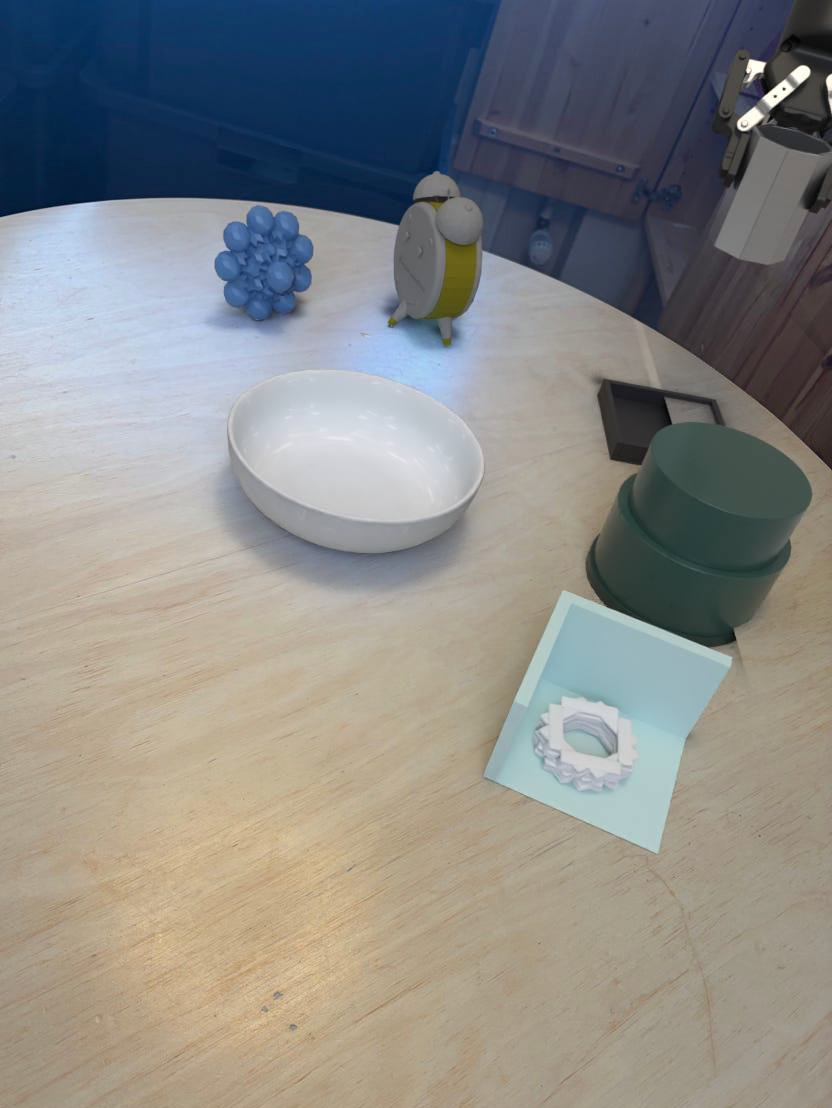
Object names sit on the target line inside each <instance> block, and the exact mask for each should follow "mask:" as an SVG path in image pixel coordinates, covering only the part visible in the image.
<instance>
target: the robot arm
mask: <svg viewBox="0 0 832 1108" xmlns="http://www.w3.org/2000/svg"><path fill="white" fill-rule="evenodd" d="M781 33H782V34H781V36H780V39H779V41H778V44H777V47H776V49H775V51H774V52H775V53H774V55H773V56H772V57H770V58H769V60H767V61H761V60H756V59H752V58H751V54H750V52H749V51H748V50H747V49H740V50H738V51H736V53H735V54H734V58H733V59H732V62H731V64H730V67H729V69H728V72H727V75H726V78H725V80H724V84H723V89H722V91H721V94H720V97H719V100H718V104H717V108H716V110H715V114H714V117H713V120H712V123H711V128H710V129H711V132H712V133H713V134H714V135H723V136H724V137H725V138H726V141H727V146H726V148H725V150H724V153H723V156H722V158H721V162H720V164H719V167H718V170H717V178H718V179H722V183H721V187H724V188H727V189H728V188H730V186H731V184H732V182H733V180H734V178H735V176H736V173H737V171H738V168H739V165H740V163H741V160H742V157H743V154H744V152H745V149H746V146H747V143H748V141H749V138H750V134H751V132H752V130H753V127H754V126H760V125H767V124H772V122H774V121H775V122H776V124H775V125H778V126H783V127H788V128H793V129H798V130H801V131H804V132H806V133H808V134H811V135H813V136H814V134H816V137H818V138H820V139H822V140H825V141H827V142H828V143H829V144H830V145H831V147H832V0H793V2H792V6H791V9H790V11H789V14H788V16H787V19H786V22H785V25H784V27H783V31H782V32H781ZM755 80H759V84H760V88H761V91H762V93H763V95H764V96H763V97H762V98H761V99H759V101H757V103H756V104H755V105H754V106H753V107H752V108H751V109H750V110H748V111H747V112H746V113H744V115H742V116H740V115H739V114H738V113H736V112H735V108H736V105H737V102H738V98H739V95H740V92H741V91H743V90H746V89H748V88H749V87H750V86H751V84H752V82H753V81H755ZM831 203H832V163H831V165H830V167H829V169H828V171H827V173H826V175H825V177H824V179H823V181H822V183H821V185H820V187H819V189H818V192H817V194H816V196H815V198H814V200H813V202H812V204H811V206H810V208H809V210H808V212H809V213H811V214H818V213H819V212H820V210H821V209H825V210H826V209H827V208H828V206H829V205H830V204H831Z"/></svg>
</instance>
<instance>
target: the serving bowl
mask: <svg viewBox="0 0 832 1108" xmlns="http://www.w3.org/2000/svg"><path fill="white" fill-rule="evenodd" d="M226 434H227V435H226V436H227V437H226V438H227V447H228V453H229V458H230V459H229V460H230V463H231V466H232V469H233V472H234V475H235V477H236V479H237V481H238V483H239V485H240V487H241V489H242V490H243V491H244V493H245V495H246V496H247V497H248V499H249V500H250V501H251V502H252V504H253V505H254V506H255V507H256V508H257V509H258V510H259V511H260V512H261V513H262V514H263V515H264V516H265V517H267V518H268V519H269V520H270V521H272V522H273V523H274V524H275V525H277V526H278V527H280V528H282V529H283V530H285V531H286V532H288V533H290V534H292V535H294V536H296V537H297V538H299V539H302V540H305V541H307V542H309V543H312V544H315V545H317V546H321V547H323V548H328V549H332V550H337V551H342V552H347V553H355V554H356V553H357V554H382V553H392V552H398V551H403V550H406V549H410V548H414V547H416V546H419V545H422V544H424V543H427V542H429V541H431V540H433V539H435V538H436V537H439V536H440V535H441V534H443V533H444V532H446V531H447V530H448V529H450V528H451V527H452V526H453V525H454V524H455V523H456V522H457V521H459V520H460V518H461V517H462V516H463V515H464V514H465V512H466V511H467V510H468V508H469V507H470V505H471V504H472V502H473V500H474V499H475V496H476V495H477V493H478V491H479V490H480V487H481V485H482V482H483V480H484V478H485V472H486V471H485V470H486V461H485V455H484V450H483V448H482V445H481V444H480V441H479V440H478V438H477V436H476V435H475V433H474V432H473V430H472V429H471V427H470V426H469V425H468V424H467V423H466V422H465V421H464V419H462V418H461V417H460V416H459V415H457V414H456V413H455V412H454V411H453V410H452V409H451V408H450V407H448V406H447V405H445V404H444V403H443V402H441V401H439V400H437V399H436V398H434V397H432V396H431V395H429V394H427V393H425V392H423V391H421V390H419V389H417V388H415V387H412V386H409V385H407V384H405V383H401V382H399V381H397V380H393V379H390V378H386V377H383V376H381V375H380V376H379V375H375V374H371V373H366V372H360V371H353V370H347V369H346V370H345V369H331V368H330V369H329V368H327V369H326V368H319V369H318V368H317V369H316V368H315V369H303V370H296V371H289V372H285V373H281V374H277V375H275V376H271V377H269V378H266V379H263V380H261V381H260V382H258V383H256V384H254V385H252V386H251V387H250V388H248V389H246V390H245V391H244V392H242V394H241V395H240V396H238V398H237V399H236V400H235V402H234V403H233V405H232V407H231V409H230V411H229V413H228V416H227V424H226Z"/></svg>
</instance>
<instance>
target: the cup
mask: <svg viewBox="0 0 832 1108" xmlns="http://www.w3.org/2000/svg"><path fill="white" fill-rule="evenodd" d="M831 163H832V147H831V145H830V144H829V143H828V142H827V141H825V140H822V139H820V138H818V137H817V136H815V135H814V134H813V135H811V134H808V133H806V132H804V131H801V130H799V129H797V128H792V127H783V126H778V125H776V124H773V123H770V124H767V125H760V126H754V127H753V130H752V132H751V134H750V138H749V141H748V143H747V146H746V149H745V152H744V154H743V157H742V160H741V163H740V165H739V168H738V171H737V173H736V176H735V178H734V180H733V182H732V184H731V186H730V188H727V189H726V192H725V194H724V197H723V199H722V201H721V203H720V206H719V208H718V211H717V213H716V216H715V217H714V220H713V222H712V225H711V226H710V227H711V228H710V229H709V233H708V236H709V238H710V240H711V242H712V245H713V247H714V248H716V249H718V250H720V251H722V252H724V253H726V254H728V255H730V256H732V257H734V258H736V259H737V260H740V261H746V262H751V263H756V264H760V265H765V266H771V265H774V264H777V263H780V262H784V261H785V260H786V257H787V256H788V254H789V252H790V249H791V248H792V245H793V244H794V242H795V239H796V237H797V235H798V233H799V231H800V229H801V227H802V225H803V222H804V220H805V218H806V216H807V215H808V212H809V208H810V206H811V204H812V202H813V200H814V198H815V196H816V194H817V192H818V189H819V187H820V185H821V183H822V181H823V179H824V177H825V175H826V173H827V171H828V169H829V167H830V165H831Z"/></svg>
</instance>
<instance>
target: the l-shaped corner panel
mask: <svg viewBox="0 0 832 1108" xmlns="http://www.w3.org/2000/svg"><path fill="white" fill-rule="evenodd" d="M732 662H733V657H732V656H730V655H727V654H724V653H722V652H720V651H717V650H715V649H712V648H711V647H705V646H702V645H700V644H697V643H695V642H692V641H690V640H687V639H685V638H682V637H680V636H677V635H675V634H672V633H670V632H667V631H665V630H662V629H660V628H657V627H655V626H652V625H650V624H647V623H645V622H642V621H640V620H637V619H635V618H632V617H630V616H627V615H625V614H622V613H620V612H617V611H615V610H612V609H610V608H609V607H608V606H605V605H602V604H600V603H597V602H595V601H592V600H590V599H587V598H585V597H582V596H580V595H578V594H575V593H572V592H570V591H568V590H565V589H563V590H562V591H561V593H560V595H559V597H558V600H557V603H556V604H555V607H554V609H553V612H552V614H551V616H550V618H549V621H548V622H547V625H546V627H545V629H544V632H543V633H542V636H541V638H540V641H539V643H538V646H537V648H536V650H535V652H534V655H533V657H532V659H531V661H530V663H529V666H528V668H527V670H526V673H525V675H524V677H523V679H522V682H521V683H520V686H519V687H518V690H517V693H516V695H515V697H514V700H513V702H512V704H511V707H510V709H509V712H508V715H507V717H506V719H505V722H504V724H503V726H502V729H501V730H500V732H499V736H498V739H497V740H496V743H495V746H494V748H493V750H492V753H491V754H490V758H489V760H488V762H487V765H486V767H485V769H484V772H483V774H482V777H483V778H486V779H488V780H490V781H493V782H494V783H497V784H498V785H501V786H503V787H506V788H508V789H510V790H513V791H514V792H517V793H519V794H522V795H524V796H526V797H528V798H529V799H530V798H531V799H532V800H535V801H537V802H540V803H541V804H544V805H546V806H549V807H550V808H553V809H556V810H558V811H560V812H562V813H564V814H567V815H569V816H571V817H572V818H573V817H574V818H575V819H578V820H579V821H582V822H585V823H587V824H588V825H591V826H594V827H595V828H598V829H600V830H602V831H605V832H607V833H609V834H611V835H613V836H616V837H618V838H621V839H623V840H625V841H628V842H629V843H632V844H634V845H635V846H637V847H638V846H639V847H641V848H643V849H645V850H648V851H650V852H652V853H654V854H657V855H658V854H659V850H660V847H661V842H662V838H663V834H664V830H665V827H666V822H667V818H668V814H669V810H670V805H671V803H672V798H673V793H674V790H675V784H676V782H677V781H676V780H677V777H678V772H679V769H680V764H681V760H682V756H683V751H684V747H685V744H686V740H687V738H688V737H689V734H690V733H691V731H692V730H693V728H694V727H695V725H696V723H697V722H698V720H699V719H700V717H701V715H703V713H704V711H705V709H706V707H707V706H708V704H709V703H710V701H711V699H712V698H713V696H714V695H715V693H716V691H717V690H718V688H719V686H720V685H721V683H722V682H723V680H724V679H725V677H726V675H727V673H728V672H729V670H730V669H731V666H732Z"/></svg>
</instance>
